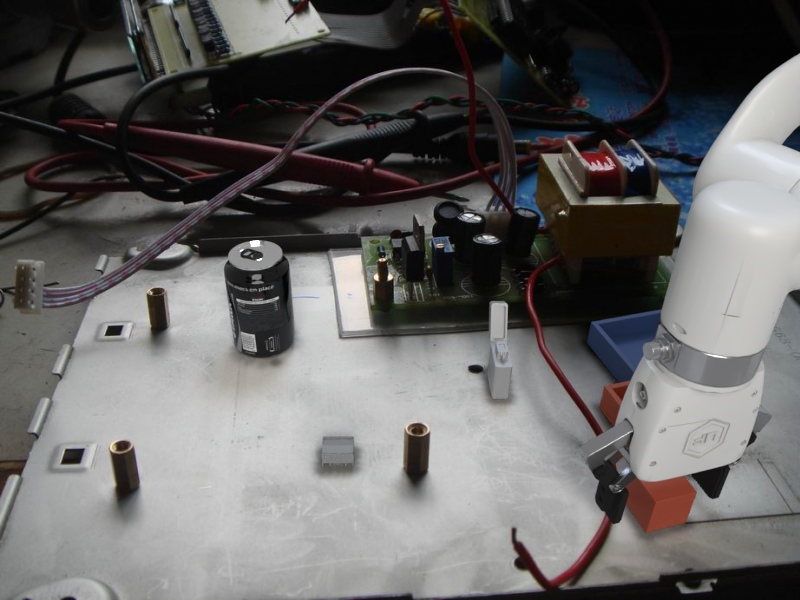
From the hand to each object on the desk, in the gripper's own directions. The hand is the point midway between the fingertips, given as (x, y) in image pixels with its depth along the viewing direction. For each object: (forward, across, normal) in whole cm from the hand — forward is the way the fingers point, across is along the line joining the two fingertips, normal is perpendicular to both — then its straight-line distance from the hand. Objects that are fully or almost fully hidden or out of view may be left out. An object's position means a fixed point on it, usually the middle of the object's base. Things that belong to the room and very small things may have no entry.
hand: (656, 498), depth 65 cm
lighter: (+2, -6, +20) cm, 22 cm away
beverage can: (+2, -29, +32) cm, 44 cm away
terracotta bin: (+2, +7, +8) cm, 11 cm away
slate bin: (+2, +11, +18) cm, 21 cm away
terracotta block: (+2, 0, 0) cm, 2 cm away
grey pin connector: (+2, -25, +14) cm, 29 cm away
